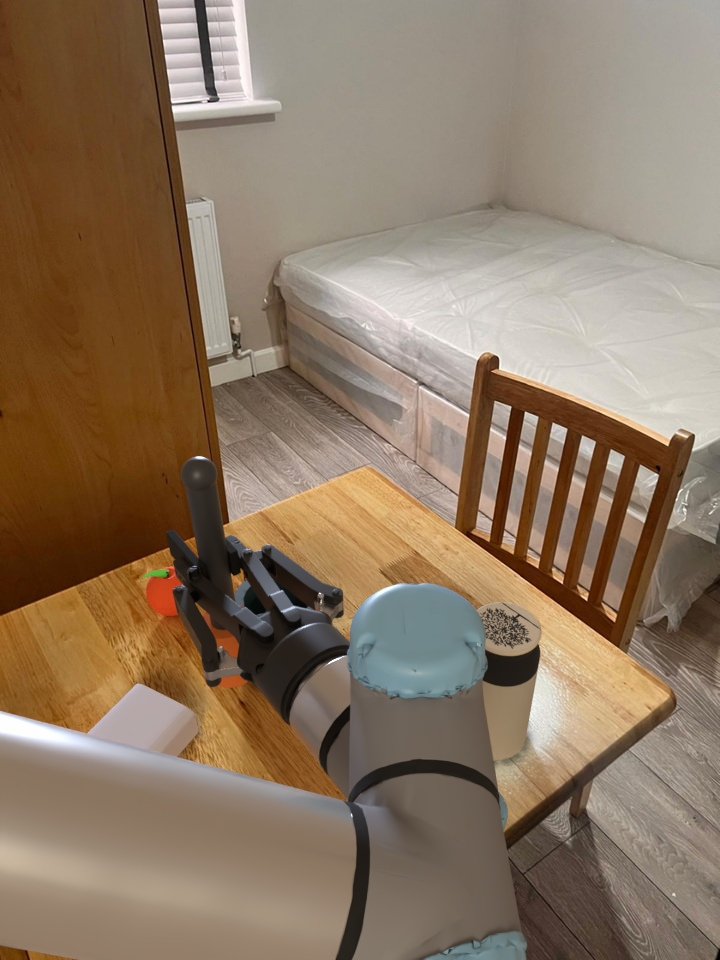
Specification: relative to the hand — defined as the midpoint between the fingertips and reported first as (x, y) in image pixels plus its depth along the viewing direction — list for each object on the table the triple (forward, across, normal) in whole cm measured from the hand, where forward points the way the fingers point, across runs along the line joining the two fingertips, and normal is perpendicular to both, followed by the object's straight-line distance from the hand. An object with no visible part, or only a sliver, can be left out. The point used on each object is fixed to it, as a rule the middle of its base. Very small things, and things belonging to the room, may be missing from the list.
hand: (187, 535), depth 70 cm
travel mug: (-19, +25, -31) cm, 44 cm away
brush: (-5, 0, -14) cm, 15 cm away
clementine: (+24, +4, -31) cm, 39 cm away
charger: (+3, -11, -31) cm, 33 cm away
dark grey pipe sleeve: (+6, +12, -31) cm, 34 cm away
